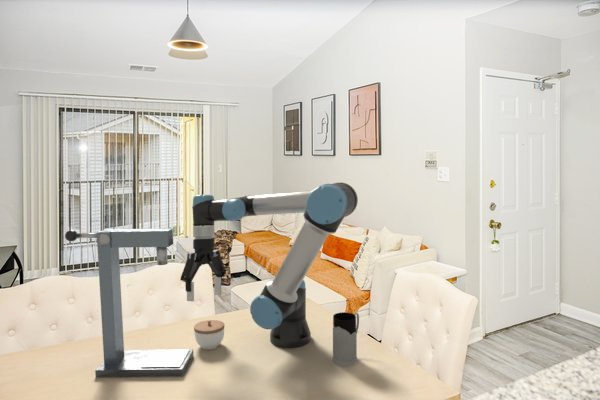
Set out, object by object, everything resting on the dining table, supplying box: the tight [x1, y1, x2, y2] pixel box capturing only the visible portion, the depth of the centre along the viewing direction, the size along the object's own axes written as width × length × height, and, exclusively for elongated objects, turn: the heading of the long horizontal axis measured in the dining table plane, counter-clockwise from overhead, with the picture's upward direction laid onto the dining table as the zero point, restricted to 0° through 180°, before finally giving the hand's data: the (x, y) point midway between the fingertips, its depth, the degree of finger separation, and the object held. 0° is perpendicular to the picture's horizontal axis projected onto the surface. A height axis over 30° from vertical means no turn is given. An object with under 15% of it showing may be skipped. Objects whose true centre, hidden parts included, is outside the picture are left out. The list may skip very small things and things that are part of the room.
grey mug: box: [331, 311, 360, 367], centre depth 146 cm, size 9×14×15 cm, turn 145°
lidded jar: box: [193, 319, 225, 350], centre depth 156 cm, size 11×11×9 cm
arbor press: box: [64, 228, 194, 379], centre depth 139 cm, size 37×14×45 cm, turn 90°
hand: (204, 298), depth 154 cm, fingers open, 13 cm apart
